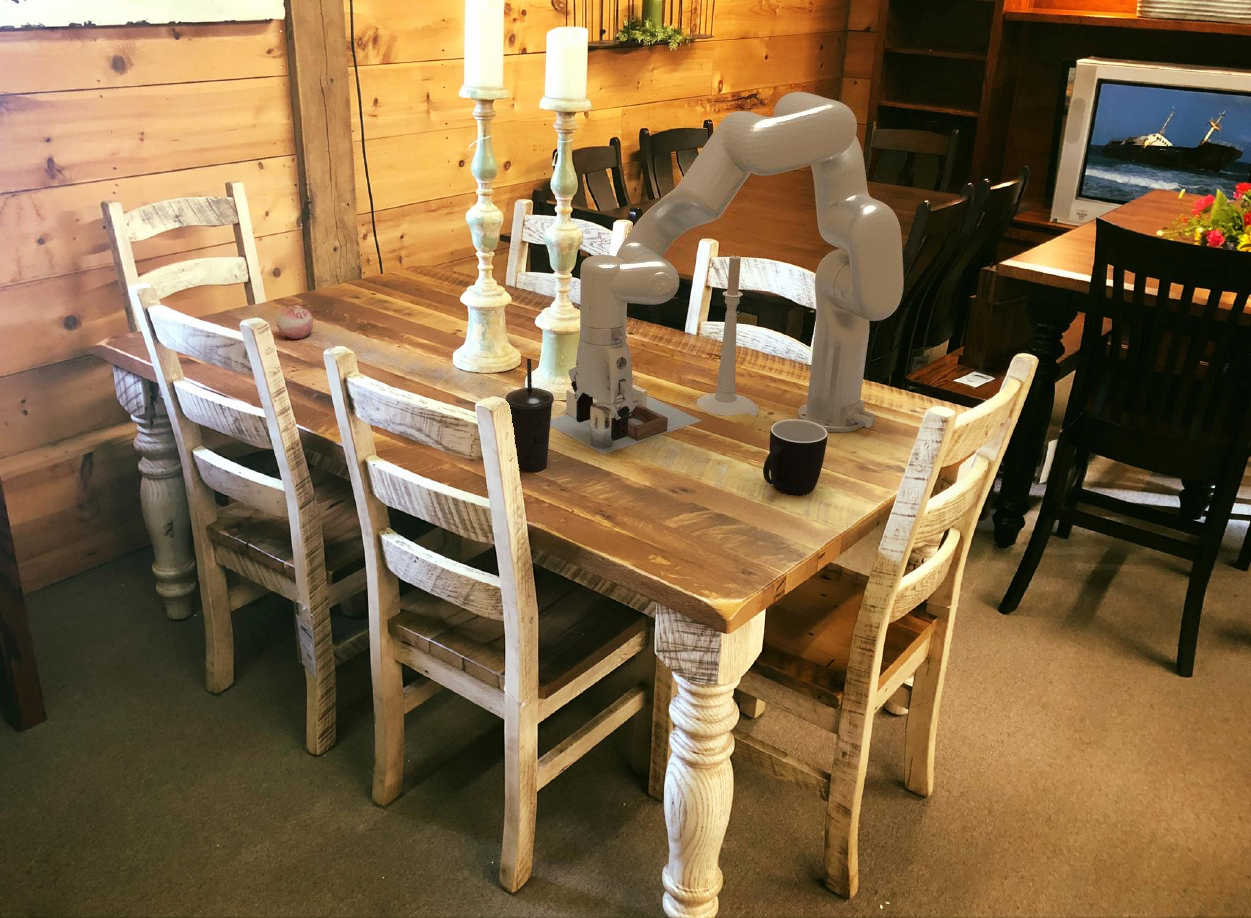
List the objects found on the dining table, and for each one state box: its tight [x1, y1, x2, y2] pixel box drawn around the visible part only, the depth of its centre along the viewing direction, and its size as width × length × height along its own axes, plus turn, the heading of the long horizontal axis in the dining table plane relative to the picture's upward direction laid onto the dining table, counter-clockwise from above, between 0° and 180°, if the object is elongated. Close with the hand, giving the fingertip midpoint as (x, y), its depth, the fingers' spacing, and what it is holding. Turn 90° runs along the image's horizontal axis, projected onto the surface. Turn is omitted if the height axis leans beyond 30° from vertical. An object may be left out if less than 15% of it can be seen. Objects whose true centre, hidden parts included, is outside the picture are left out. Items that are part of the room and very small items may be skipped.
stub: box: [590, 401, 614, 449], centre depth 179 cm, size 4×4×7 cm
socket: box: [618, 404, 668, 441], centre depth 187 cm, size 9×7×2 cm
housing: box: [565, 383, 648, 425], centre depth 193 cm, size 12×11×4 cm
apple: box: [276, 304, 314, 341], centre depth 229 cm, size 8×8×7 cm
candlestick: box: [696, 253, 760, 418], centre depth 192 cm, size 13×13×30 cm
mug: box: [762, 418, 829, 497], centre depth 168 cm, size 12×9×10 cm
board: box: [550, 395, 702, 455], centre depth 190 cm, size 17×23×2 cm
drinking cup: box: [505, 358, 555, 474], centre depth 169 cm, size 8×8×20 cm
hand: (601, 428), depth 180 cm, fingers open, 8 cm apart
